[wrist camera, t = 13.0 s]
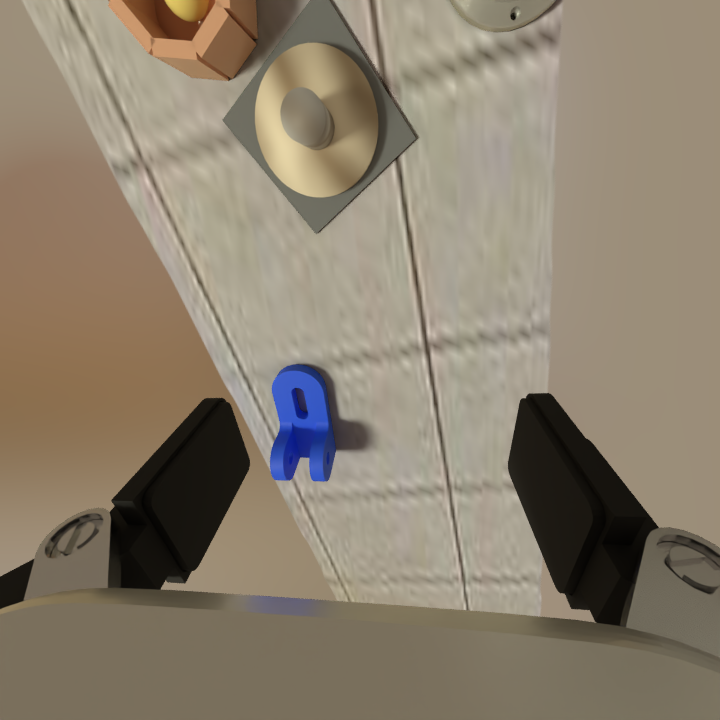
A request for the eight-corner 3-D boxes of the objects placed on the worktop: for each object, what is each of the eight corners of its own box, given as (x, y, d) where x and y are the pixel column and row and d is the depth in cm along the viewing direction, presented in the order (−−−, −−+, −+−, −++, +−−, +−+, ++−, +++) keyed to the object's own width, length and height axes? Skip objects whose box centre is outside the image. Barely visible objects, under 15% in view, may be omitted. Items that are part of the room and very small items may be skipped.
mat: (321, -12, 29) (320, -14, 28) (415, 138, 33) (416, 138, 33) (224, 120, 34) (222, 120, 34) (316, 233, 39) (316, 233, 39)
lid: (319, 8, 29) (301, -38, 23) (403, 136, 33) (405, 124, 27) (235, 122, 34) (202, 108, 28) (317, 221, 38) (303, 227, 32)
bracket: (336, 449, 57) (326, 490, 49) (292, 448, 58) (276, 489, 50) (322, 363, 48) (308, 396, 40) (271, 364, 49) (248, 397, 41)
